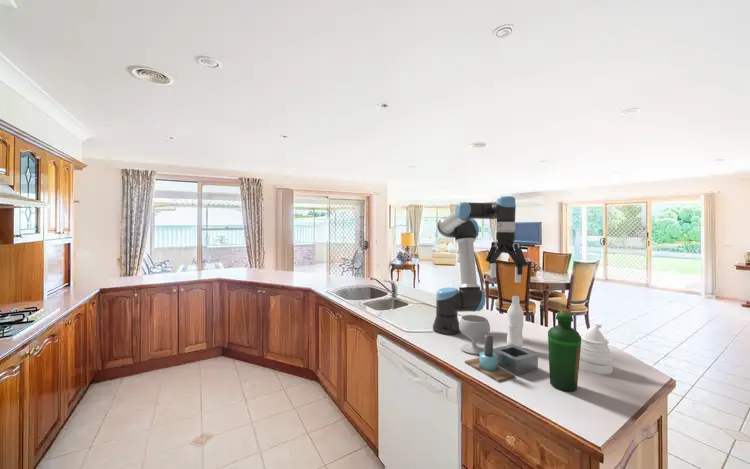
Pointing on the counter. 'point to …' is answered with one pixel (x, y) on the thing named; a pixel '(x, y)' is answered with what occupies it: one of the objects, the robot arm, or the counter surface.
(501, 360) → the box
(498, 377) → the walnut mat
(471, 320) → the chalice
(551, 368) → the bottle
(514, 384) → the counter surface
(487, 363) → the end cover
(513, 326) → the water bottle
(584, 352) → the honey pot
